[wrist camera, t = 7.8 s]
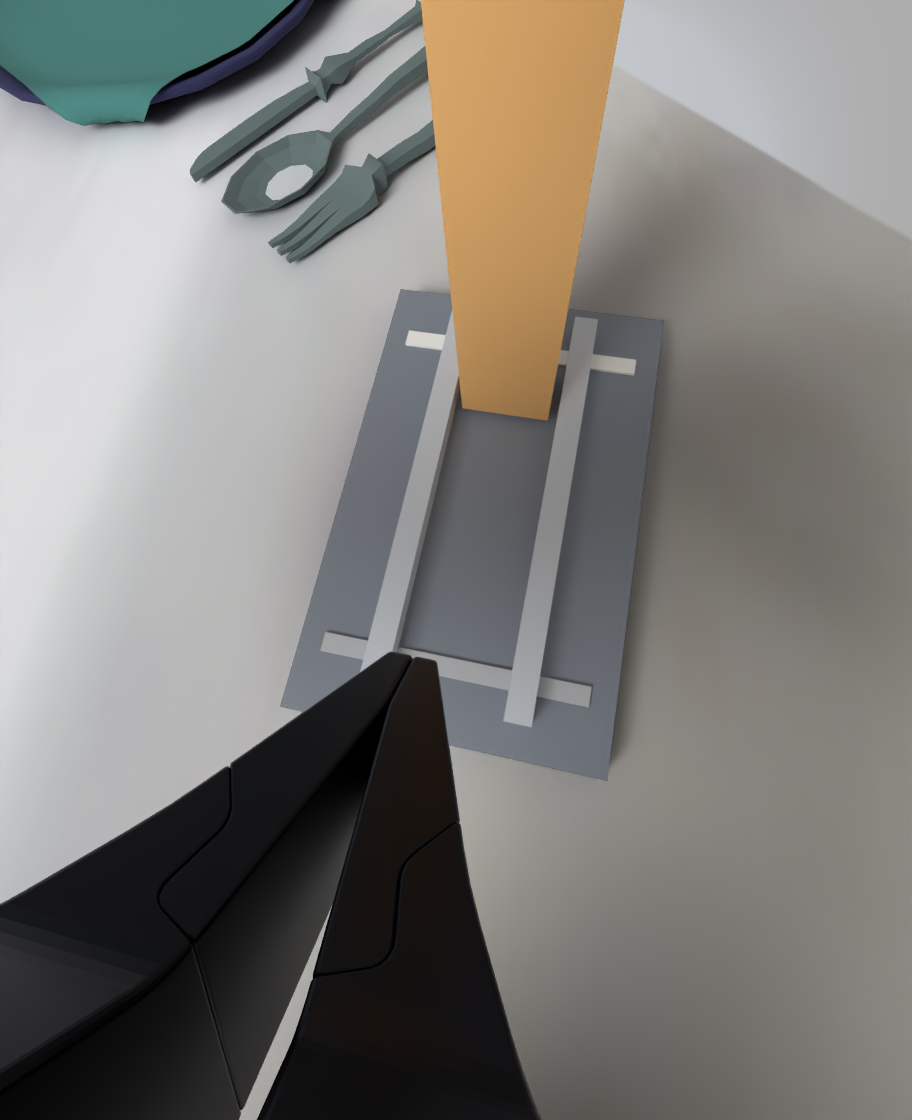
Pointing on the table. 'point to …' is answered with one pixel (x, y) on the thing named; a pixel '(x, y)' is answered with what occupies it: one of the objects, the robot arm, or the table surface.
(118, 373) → the table surface
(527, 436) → the board
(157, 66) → the cutlery set
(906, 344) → the table surface
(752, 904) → the table surface
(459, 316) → the tan wooden bar
